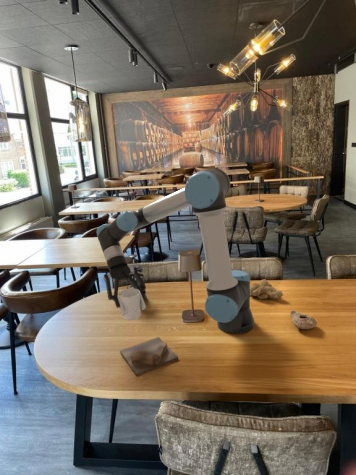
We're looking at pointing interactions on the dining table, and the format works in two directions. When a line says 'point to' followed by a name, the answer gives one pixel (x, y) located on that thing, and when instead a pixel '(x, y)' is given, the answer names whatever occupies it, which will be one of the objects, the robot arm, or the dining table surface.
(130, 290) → the white cup
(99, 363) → the dining table surface
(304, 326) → the pottery oil lamp
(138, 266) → the french press
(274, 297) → the ginger root
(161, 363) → the brown flat square slab
